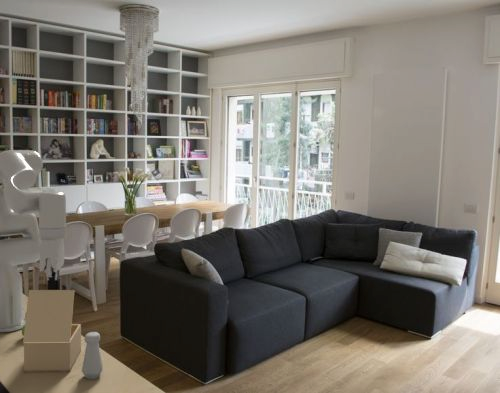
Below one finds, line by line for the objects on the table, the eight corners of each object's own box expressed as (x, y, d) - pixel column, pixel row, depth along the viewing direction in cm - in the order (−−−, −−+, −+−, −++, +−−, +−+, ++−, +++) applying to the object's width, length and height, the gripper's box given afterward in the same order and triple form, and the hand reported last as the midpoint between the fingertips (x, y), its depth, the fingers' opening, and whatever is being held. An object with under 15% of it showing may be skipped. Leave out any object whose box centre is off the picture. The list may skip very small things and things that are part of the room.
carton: (39, 351, 157) (38, 324, 156) (81, 350, 158) (81, 324, 157) (24, 372, 143) (23, 343, 142) (70, 371, 144) (70, 342, 143)
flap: (29, 290, 146) (28, 289, 145) (74, 290, 147) (74, 290, 147) (23, 342, 142) (23, 342, 141) (70, 342, 143) (69, 342, 143)
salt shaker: (96, 382, 139) (96, 339, 137) (78, 379, 140) (77, 336, 138) (106, 372, 144) (106, 331, 143) (88, 370, 146) (88, 328, 144)
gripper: (47, 228, 153) (48, 284, 155) (31, 237, 138) (33, 300, 140) (71, 228, 154) (72, 284, 156) (59, 237, 139) (60, 300, 141)
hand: (53, 292), depth 148 cm, fingers closed
